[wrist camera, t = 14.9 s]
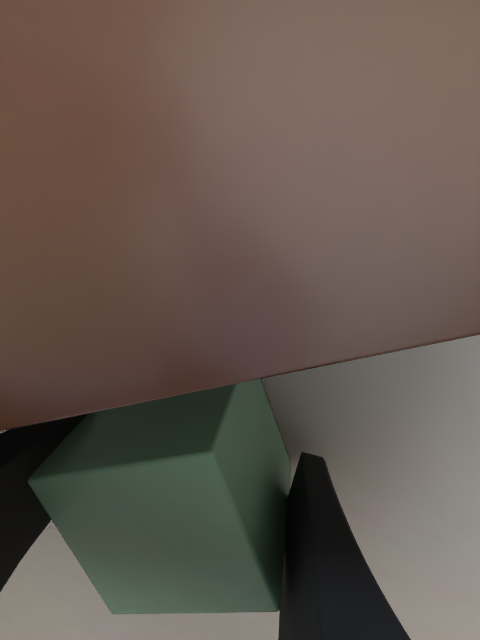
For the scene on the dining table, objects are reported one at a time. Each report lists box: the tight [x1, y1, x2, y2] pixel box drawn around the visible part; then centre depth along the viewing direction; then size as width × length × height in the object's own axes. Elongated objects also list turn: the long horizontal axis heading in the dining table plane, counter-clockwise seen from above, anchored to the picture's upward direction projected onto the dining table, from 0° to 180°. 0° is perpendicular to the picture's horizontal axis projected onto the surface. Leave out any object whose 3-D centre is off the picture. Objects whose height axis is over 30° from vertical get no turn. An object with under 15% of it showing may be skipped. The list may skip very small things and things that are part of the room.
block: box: [28, 379, 291, 614], centre depth 11 cm, size 5×5×5 cm
